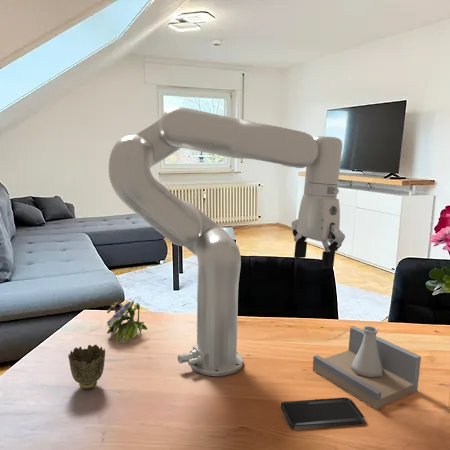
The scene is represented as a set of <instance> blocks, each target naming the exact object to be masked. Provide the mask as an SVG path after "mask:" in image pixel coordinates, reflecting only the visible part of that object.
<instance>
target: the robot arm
mask: <svg viewBox="0 0 450 450" xmlns="http://www.w3.org/2000/svg"><path fill="white" fill-rule="evenodd" d="M180 149H185V150H186V149H187V150H190V151H196V152H202V153H208V154H213V155H215V156H216V155H218V156H222V157H227V158H233V159H238V160H239V159H246V160H256V161H260V162H266V163H272V164H277V165H280V166H284V167H288V168H295V169H304V168H305V176H304V177H305V178H304V187H303V188H304V189H303V195H302V197H301V201H300V206H299V210H298V217H297V219H295V220H294V221H291V229H292V235H293V241H294V242H295V246H294V254H293V257H294V259H303V258H306V257H307V246H308V242H307V239H311V240H314V241H317V242H321V244H322V247H323V248H324V251H322V253H321V254H322V255H321V256H322V257H321V263H320V265H321V266H320V267H321V269H323V270H325V269H333V268H334V264H335V256H336V255H335V254H336V252H338V250H339V249H340V248H341V246H342V244H343V242H344V240H345V239H346V235H345V233H343V231H341V229H340V223H341V209H340V208H341V207H340V199H339V198H338V197H337V196H338V194H339V192H340V191H339V179H340V169H341V161H342V151H343V141H342V140H341V139H340V138H339V137H335V136H324V135H317V136H312V135H311V134H309V133H307V132H304V131H300V130H296V129H292V128H291V129H290V128H287V127H281V126H277V125H272V124H265V123H260V122H256V121H255V122H254V121H251V120H246V119H242V118H237V117H231V116H226V115H222V114H221V115H220V114H218V113H212V112H207V111H203V110H200V109H199V110H198V109H193V108H189V107H183V106H172V107H170V108H167V110H165V111H164V112H163V114H162V115H161V117H159V118H158V119H156V120H155V121H154V122H152V123H151V124H149V125H148V126H146V127H144V128H142V129H141V130H139V131H138V132H136V133H134V134H133V135H132V134H129V135H125V136H123V137H121V138H119V139H118V140H117V141H116V142H115V144H114V145H113V147H112V149H111V151H110V155H109V159H108V177H109V180H110V183H111V186H112V189H113V190H114V193H115V194H116V195H117V197H118V198H119V199H120V200H121V201H122V202H123V203H124V204H125V205H126V206H127V207H128V208H129V209H130V210H131V211H133V212H134V213H135V214H136V215H138V216H139V217H140V218H141V219H142V220H143V221H145V222H146V224H147V223H148V225H149V226H151V227H152V228H153V229H155V230H156V231H157V232H158V233H160V234H161V235H162V236H163V237H164V238H165V239H166V240H168V241H169V242H170V243H172V244H173V245H175V246H180V247H185V248H186V249H187V251H190V252H191V253H193V254H194V255H195V256H196V257H197V284H196V285H197V287H196V288H197V289H196V291H197V292H196V296H197V297H196V301H197V302H196V303H197V305H196V306H197V307H196V311H197V312H196V344H193V345H192V350H190V351H189V352H187V353H186V352H185V353H182V354H178V355H177V362H178V363H179V364H183V363H188V366H191V368H192V369H193V370H194V371H195V372H197V373H199V374H201V375H206V376H209V377H224V376H229V375H233V374H235V373H237V372H238V371H240V369H241V368H242V367H243V364H244V362H243V361H244V360H243V358H244V357H243V356H242V355H241V354H240V353H239V352H237V346H238V316H239V315H238V311H239V310H238V309H239V307H238V306H239V304H238V303H239V301H238V300H239V282H240V273H241V265H242V261H241V260H242V257H241V251H240V248H239V246H238V244H237V243H236V241H235V240H234V238H232V237H231V235H230V234H229V233H228V232H227V231H226V230H225V229H224V228H222V227H221V226H220V225H219V224H217V222H215V221H214V220H213V219H212V218H210V217H209V216H207V214H205V213H204V212H203V211H202V210H201V209H199V208H198V207H196V205H194V204H193V203H191V202H190V201H187V200H183V199H180V198H178V197H177V196H176V195H175V194H173V192H171V191H170V190H169V189H168V188H167V187H165V186H164V185H163V184H162V183H160V182H159V181H158V180H157V179H156V178H155V177H154V175H153V174H152V172H151V168H152V167H153V166H155V165H157V164H158V163H160V162H161V161H164V160H165V159H166V158H168V157H170V156H171V155H173V154H175V153H176V152H177V151H179V150H180Z"/></svg>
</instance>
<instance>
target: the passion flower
mask: <svg viewBox="0 0 450 450" xmlns="http://www.w3.org/2000/svg"><path fill="white" fill-rule="evenodd" d="M119 303H120V302H119V301H117V302H114V303H113V304H112V305H110V307H109V308H108V309H107V311H106V313H107V314H109V313H111V312H112V311H114V312H115V313H114V314H113V315H112V317H111V318H110V319H108V321H106V327H107V326H108V330H107V332H106V334H110V333H112V334H115V333H116V342H117V343H118V344H119V345H121V343H122V340H123V342H124V343H127V342H128V341H129V340H130V339H134V338H135V336H136V335H137V333H138V332H139V334H140V335H142V331H143V330H146V331H147V330H148V327H147V326H146V325H145V321H140V309H141V308H140V304H139V303H138V302H136V303H135V301H134V300H131V302H130V301H128V302H127V303H125V304H123V305H122V307H120V309H117V308H116V306H117V305H119ZM134 303H135V304H134ZM136 310H138V311H137V320H136V321H135V320H134V319H135V318H134V317H135V315H136V313H135V312H136ZM128 314H129V315H128ZM124 321H126V322H124Z"/></svg>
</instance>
